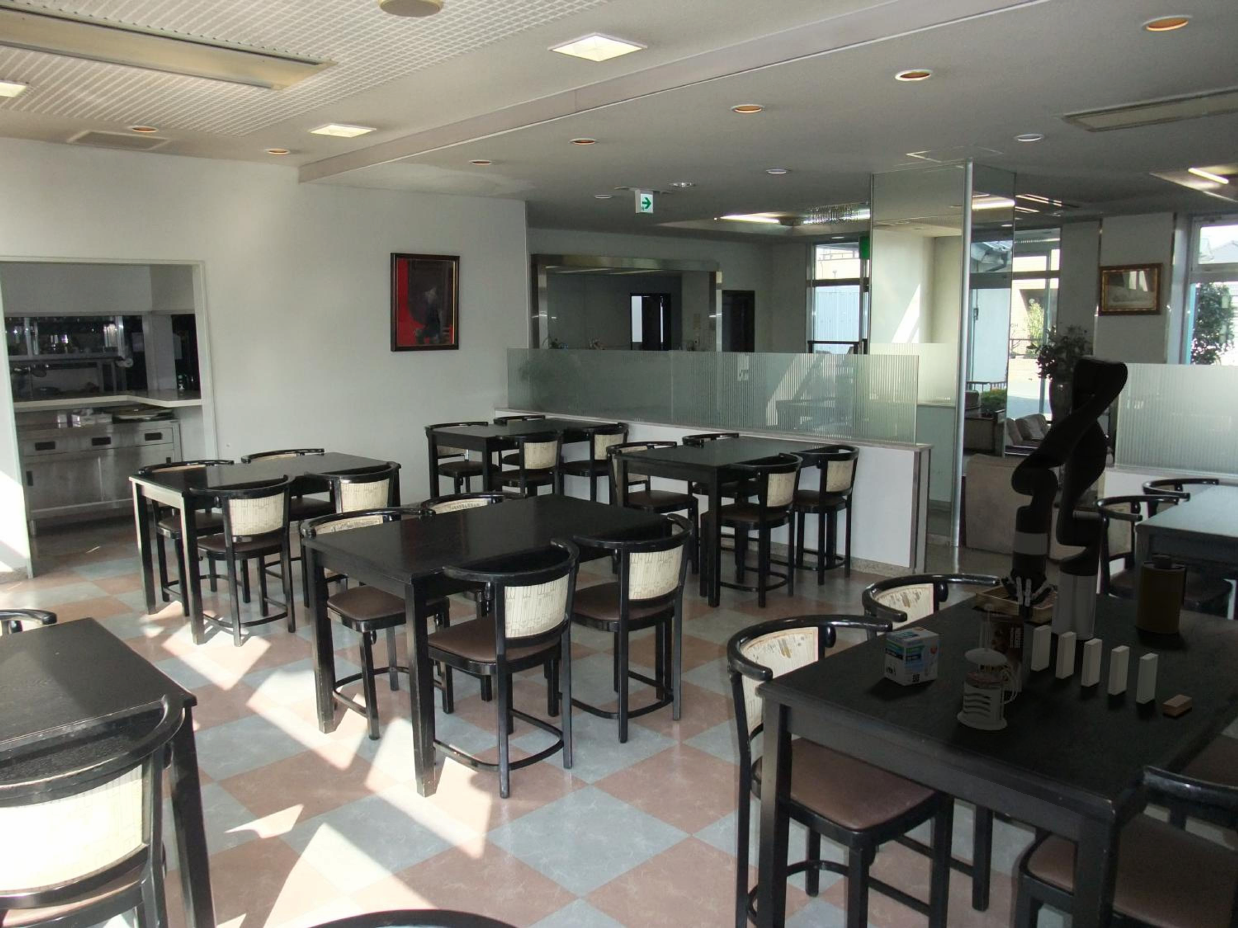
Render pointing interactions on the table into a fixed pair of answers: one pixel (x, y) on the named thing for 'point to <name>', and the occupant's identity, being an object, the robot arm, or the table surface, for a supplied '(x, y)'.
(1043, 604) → the teacup
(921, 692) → the table surface
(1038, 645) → the domino
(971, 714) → the french press
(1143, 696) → the sage domino
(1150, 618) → the canister
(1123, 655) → the domino
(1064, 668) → the domino
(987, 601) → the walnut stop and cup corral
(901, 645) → the light bulb box
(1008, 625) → the coffee box
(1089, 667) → the domino
